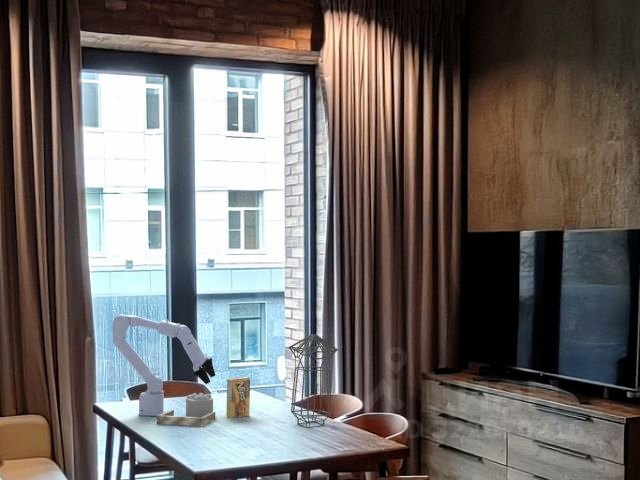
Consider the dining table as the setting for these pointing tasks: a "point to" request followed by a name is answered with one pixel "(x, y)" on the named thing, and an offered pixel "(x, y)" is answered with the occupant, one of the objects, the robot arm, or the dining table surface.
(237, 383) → the candy box
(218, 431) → the dining table surface
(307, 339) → the geometric lantern
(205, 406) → the lumpy-topped squat cylinder
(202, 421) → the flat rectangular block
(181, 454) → the dining table surface
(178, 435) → the dining table surface
